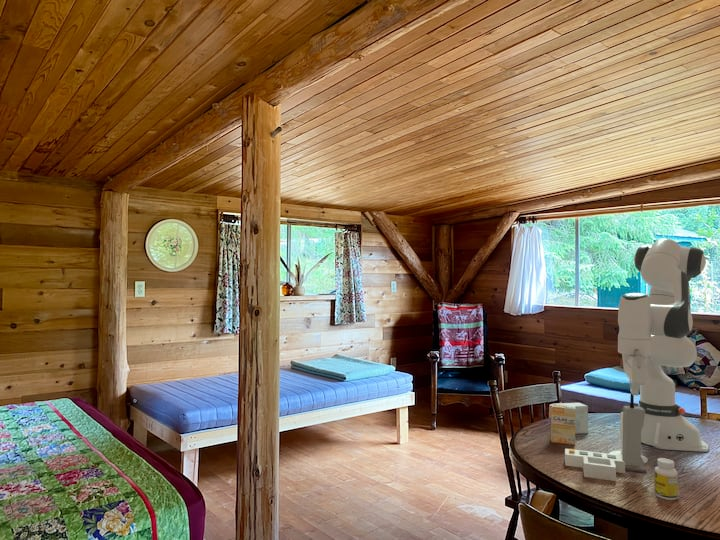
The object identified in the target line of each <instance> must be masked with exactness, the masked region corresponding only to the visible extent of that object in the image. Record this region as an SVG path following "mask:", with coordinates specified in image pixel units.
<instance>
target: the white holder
mask: <svg viewBox="0 0 720 540" xmlns="http://www.w3.org/2000/svg"><path fill="white" fill-rule="evenodd" d="M619 430H620V450H613V451H610V452H609V453H608V454H615V455H622V448H623V408H620V418H619ZM641 457H642V459H643V461H644V464H647V463H648V461H649V459H648V457H646V456H645V455H642V454H641Z"/></svg>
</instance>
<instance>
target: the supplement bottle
mask: <svg viewBox="0 0 720 540" xmlns="http://www.w3.org/2000/svg"><path fill="white" fill-rule="evenodd" d="M654 495H655V496H656V497H658V498H661V499H663V500H667V501H675V500H677V499H678V497H679V496H678V495H679V494H678V471H677V470H676V469H675V461H674V460H672V459H669V458H664V457H659V458H657V466H655V467H654Z"/></svg>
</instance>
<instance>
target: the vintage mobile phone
mask: <svg viewBox="0 0 720 540" xmlns="http://www.w3.org/2000/svg"><path fill="white" fill-rule="evenodd" d="M634 396H635V395H632V393H631V392H630V400H629V401H630V403H629V405H624V406H622V409H623V448H622V460H623V461H624V463H625V466H632V467H642V468H643V467H645V463H644V461H643V459H642V457H641V455H642V442H641V429H642V428H643V425H644V416H645V410H644V409H643V408H642V407H638V406H635V405H634V403H635V401H634V398H635V397H634Z"/></svg>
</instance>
